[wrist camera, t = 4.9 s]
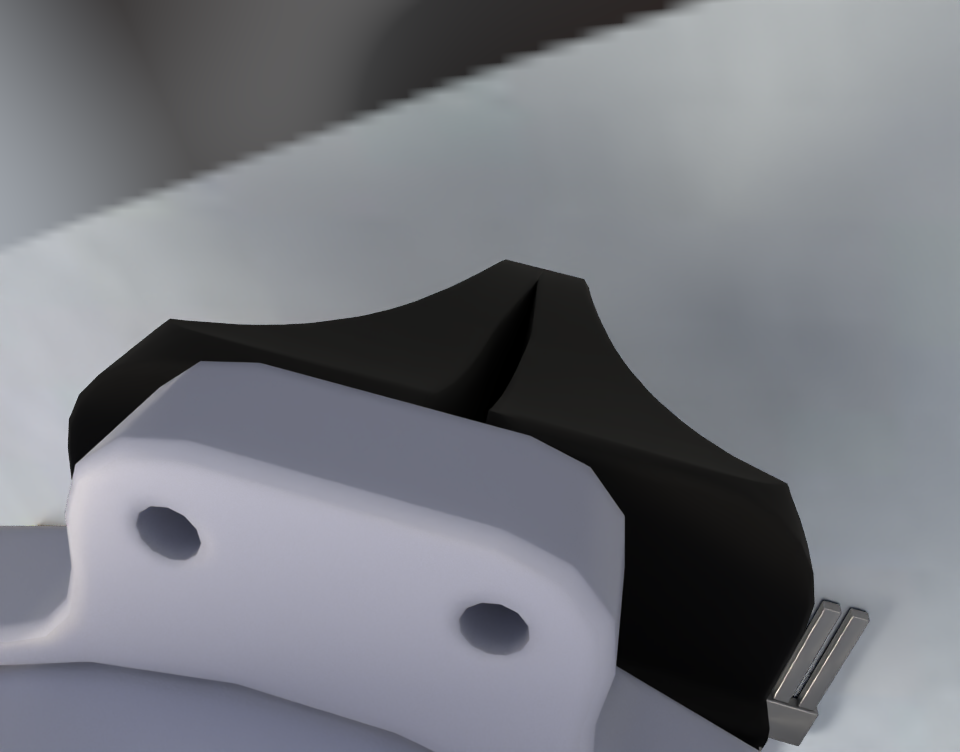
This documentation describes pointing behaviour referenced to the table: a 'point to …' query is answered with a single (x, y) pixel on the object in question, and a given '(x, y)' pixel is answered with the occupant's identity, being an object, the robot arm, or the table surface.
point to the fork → (799, 714)
